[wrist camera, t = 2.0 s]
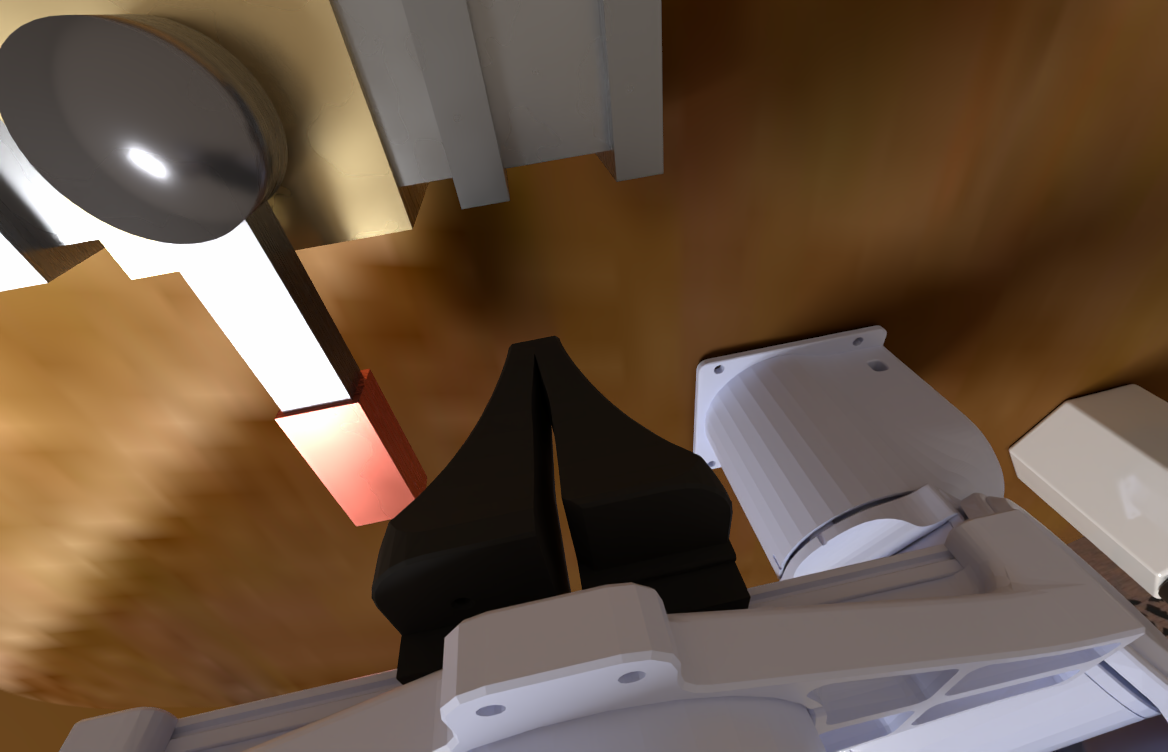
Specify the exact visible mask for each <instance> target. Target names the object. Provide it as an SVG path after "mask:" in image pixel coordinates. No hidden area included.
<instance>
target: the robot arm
mask: <svg viewBox="0 0 1168 752" xmlns="http://www.w3.org/2000/svg"><path fill="white" fill-rule="evenodd" d="M886 335H887V332H886V330H885V329H884V328H883V327H881V326H871V327H866V328H861V329H856V330H851V331H846V332H841V333H836V334H831V335H826V336H821V337H816V338H811V339H806V340H801V341H796V342H791V343H786V344H781V345H775V346H770V347H765V348H760V349H755V350H750V351H745V352H740V353H735V354H730V355H725V356H720V357H715V358H710V359H706V360H703V361H702V362H700V363H699V365H698V366H697V370H696V394H695V418H694V442H693V452H691V451H688V450H686V449H684V448H682V447H679V446H677V445H675V444H673V443H670V442H668V441H667V440H665V439H663V438H661V437H659V436H658V435H656V434H654V433H653V432H651V431H650V430H648V429H646V428H645V427H643V426H642V425H640V424H639V423H637V422H636V421H634V420H633V419H631V418H630V417H628V416H627V415H626V414H625V413H623V412H622V411H621V410H619V409H618V408H617V407H616V406H615V405H613V404H612V403H611V402H610V401H609V400H608V399H606V398H605V397H604V396H603V395H602V394H601V393H600V392H599V391H598V390H597V389H596V388H595V387H594V386H593V385H592V384H591V383H590V382H589V381H588V379H587V378H586V377H585V376H584V375H583V374H582V372H581V371H580V370H579V369H578V368H577V366H576V365H575V364H574V362H573V361H572V360H571V358H570V357H569V355H568V354H567V352H566V351H565V349H564V348H563V346H562V344H561V342H560V339H559V338H558V337H556V336H551V337H546V338H541V339H536V340H531V341H526V342H521V343H515V344H512V345H511V346H510V348H509V350H508V355H507V358H506V361H505V364H504V367H503V370H502V373H501V375H500V378H499V380H498V383H497V385H496V387H495V390H494V392H493V394H492V396H491V398H490V400H489V402H488V404H487V406H486V408H485V410H484V412H483V414H482V416H481V417H480V419H479V421H478V423H477V424H476V426H475V428H474V429H473V431H472V432H471V434H470V435H469V437H468V438H467V440H466V441H465V443H464V444H463V445H462V447H461V448H460V449H459V451H458V452H457V454H456V455H455V456H454V458H453V459H452V460H451V461H450V463H449V464H448V465H447V466H446V467H445V469H444V470H443V471H442V472H441V473H440V474H439V475H438V476H437V477H436V478H435V480H434V481H433V482H432V483H431V484H430V485H429V486H428V487H427V488H426V489H425V490H424V491H423V492H422V493H421V494H420V495H419V496H418V497H417V498H416V499H414V500H413V501H412V502H411V503H410V504H409V505H408V506H407V507H406V508H404V509H403V510H402V511H401V512H400V513H399V514H398V515H397V516H396V517H394V518H393V519H392V520H391V521H390V522H389V523H388V527H387V530H386V533H385V536H384V538H383V541H382V544H381V548H380V551H379V555H378V560H377V565H376V570H375V575H374V580H373V585H372V599H373V601H374V603H375V605H376V606H377V608H378V609H379V610H380V611H381V612H382V613H383V615H384V616H385V617H386V618H387V619H388V620H389V621H390V622H391V623H392V625H393V626H394V627H395V628H396V629H397V630H398V631H399V632H400V634H401V635H402V637H401V644H400V652H399V659H398V667H397V669H394V670H390V671H385V672H381V673H376V674H372V675H368V676H363V677H359V678H355V679H350V680H346V681H342V682H337V683H333V684H328V685H324V686H320V687H315V688H311V689H307V690H302V691H298V692H293V693H289V694H285V695H280V696H276V697H272V698H267V699H263V700H259V701H254V702H250V703H245V704H241V705H237V706H232V707H228V708H224V709H219V710H215V711H210V712H206V713H202V714H197V715H193V716H189V717H184V718H180V719H177V718H176V717H175V716H174V715H173V714H171V713H169V712H167V711H165V710H163V709H159V708H155V707H139V708H132V709H128V710H123V711H119V712H114V713H110V714H105V715H101V716H97V717H92V718H88V719H83V720H81V721H79V722H78V723H76V724H75V725H74V726H73V728H72V730H71V732H70V733H69V735H68V737H67V739H66V740H65V742H64V744H63V746H62V747H61V749H60V751H59V752H1168V639H1167V638H1166V637H1165V636H1164V635H1163V634H1162V633H1161V632H1160V631H1159V630H1158V629H1157V628H1156V627H1155V626H1154V625H1153V624H1152V623H1151V622H1150V621H1149V620H1148V619H1147V618H1146V617H1145V616H1144V615H1143V614H1142V613H1141V612H1140V611H1139V610H1138V609H1137V608H1136V607H1135V606H1133V605H1132V604H1131V603H1130V602H1129V601H1128V600H1127V599H1126V598H1125V597H1124V596H1123V595H1122V594H1121V593H1120V592H1118V591H1117V590H1116V589H1115V588H1114V587H1113V586H1112V585H1111V584H1110V583H1109V582H1108V581H1106V580H1105V579H1104V578H1103V577H1102V576H1101V575H1100V574H1099V573H1098V572H1097V571H1095V570H1094V569H1093V568H1092V567H1091V566H1090V565H1089V564H1088V563H1087V562H1085V561H1084V560H1083V559H1082V558H1081V557H1080V556H1079V555H1078V554H1076V553H1075V552H1074V551H1073V550H1072V549H1071V548H1070V547H1068V546H1067V545H1066V544H1065V543H1064V542H1063V541H1061V540H1060V539H1059V538H1058V537H1057V536H1056V535H1054V534H1053V533H1052V532H1051V531H1050V530H1049V529H1047V528H1046V527H1045V526H1044V525H1043V524H1041V523H1040V522H1039V521H1038V520H1036V519H1035V518H1034V517H1033V516H1031V515H1030V514H1029V513H1028V512H1026V511H1025V510H1024V509H1022V508H1021V507H1020V506H1018V505H1017V504H1016V503H1014V502H1013V501H1011V500H1009V499H1007V498H1003V497H1004V479H1003V473H1002V470H1001V467H1000V464H999V462H998V459H997V457H996V455H995V453H994V451H993V449H992V447H991V446H990V444H989V442H988V441H987V439H986V438H985V436H984V435H983V434H982V432H981V431H980V430H979V429H978V428H977V427H976V425H975V424H974V423H973V422H972V421H970V420H969V419H968V418H967V417H966V416H965V415H964V414H963V413H961V412H960V411H959V410H958V409H957V408H956V407H954V406H953V405H952V404H951V403H950V402H949V401H947V400H946V399H945V398H944V397H943V396H941V395H940V394H939V393H938V392H937V391H936V390H934V389H933V388H932V387H931V386H930V385H929V384H927V383H926V382H925V381H924V380H923V379H921V378H920V377H919V376H918V375H917V374H916V373H914V372H913V371H912V370H911V369H910V368H909V367H907V366H906V365H905V364H904V363H903V362H901V361H900V360H899V359H898V358H897V357H896V356H894V355H893V354H892V353H891V352H890V351H889V350H887V349H886V348H885V347H884V346H883V344H884V341H885V338H886ZM856 338H857V339H856ZM855 339H856V340H855ZM854 340H855V341H854ZM719 365H721V366H720V367H719V368H717V369H715V368H716V367H717V366H719ZM551 425H552V428H553V432H554V436H555V442H556V450H557V458H558V466H559V475H560V485H561V495H562V501H563V505H564V509H565V513H566V517H567V521H568V525H569V529H570V533H571V537H572V541H573V545H574V549H575V553H576V557H577V561H578V567H579V573H580V579H581V585H582V590H580V591H576V592H572V593H571V589H570V584H569V578H568V572H567V566H566V560H565V553H564V547H563V541H562V535H561V529H560V523H559V516H558V510H557V504H556V494H555V481H554V463H553V445H552V428H551ZM719 467H722V469H723V471H724V473H725V475H726V477H727V479H728V481H729V483H730V485H731V486H732V488H733V490H734V492H735V494H736V496H737V498H738V500H739V502H740V504H741V506H742V508H743V510H744V512H745V514H746V516H747V518H748V520H749V522H750V524H751V526H752V528H753V530H754V532H755V533H756V535H757V537H758V539H759V541H760V543H761V545H762V547H763V549H764V551H765V553H766V555H767V557H768V559H769V561H770V563H771V565H772V567H773V569H774V571H775V573H776V575H777V577H778V579H779V580H780V581H778V582H774V583H770V584H765V585H761V586H757V587H752V588H748V589H747V588H746V585H745V583H744V581H743V579H742V577H741V574H740V572H739V570H738V568H737V565H736V563H735V561H736V554H735V551H734V549H733V547H732V545H731V543H730V540H729V534H730V527H731V520H732V513H733V511H732V502H731V500H730V498H729V496H728V494H727V492H726V490H725V488H724V487H723V485H722V484H721V482H720V481H719V479H718V478H717V476H716V475H715V473H714V472H713V471H712V469H714V468H719Z"/></svg>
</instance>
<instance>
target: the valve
mask: <svg viewBox="0 0 1168 752" xmlns="http://www.w3.org/2000/svg"><path fill="white" fill-rule="evenodd" d="M101 14H141V15H152V16H157V17H162V18H166V19H169V20H172V21H175V22H178V23H181V24H184V25H186V26H188V27H190V28H192V29H195V30H197V31H199V32H200V33H202V34H204V35H206V36H207V37H209V38H211V39H212V40H214V41H215V42H217V43H218V44H219V45H221V46H222V47H224V48H225V49H226V50H228V51H229V52H230V53H231V54H232V55H233V56H235V57H236V58H237V59H238V60H239V61H240V62H241V63H242V64H243V65H244V66H245V67H246V68H247V69H248V70H249V71H250V72H251V73H252V74H253V76H254V77H255V78H256V79H257V80H258V82H259V83H260V84H261V85H262V87H263V88H264V90H265V91H266V93H267V94H268V96H269V97H270V99H271V101H272V103H273V105H274V106H275V108H276V110H277V112H278V115H279V117H280V119H281V122H282V125H283V128H284V132H285V135H286V141H287V147H288V162H287V169H286V173H285V176H284V179H283V181H282V183H281V185H280V187H279V188H278V190H277V191H276V192H275V194H274V195H273V196H272V197H271V198H270V199H268V200H267V201H268V203H269V205H270V206H271V208H272V210H273V212H274V214H275V216H276V217H277V219H278V221H279V223H280V225H281V227H282V228H283V230H284V232H285V234H286V236H287V238H288V239H289V241H290V243H291V245H292V247H293V248H294V250H299V249H305V248H311V247H316V246H322V245H327V244H333V243H338V242H344V241H350V240H355V239H361V238H366V237H372V236H378V235H383V234H389V233H394V232H400V231H405V230H411V229H413V226H414V224H415V221H416V218H417V215H418V212H419V209H420V206H421V203H422V200H423V198H424V195H425V192H426V189H427V186H428V183H429V182H430V181H436V180H442V179H448V178H453V181H454V184H455V188H456V191H457V195H458V198H459V202H460V205H461V209H466V208H472V207H477V206H483V205H488V204H494V203H500V202H505V201H510V197H509V188H508V179H507V171H506V168H511V167H517V166H522V165H528V164H534V163H539V162H545V161H551V160H557V159H562V158H568V157H574V156H580V155H585V154H591V153H596V155H597V156H598V157H599V159H600V160H601V161H602V163H603V164H604V165H605V167H606V168H607V169H608V171H609V172H610V173H611V175H612V176H613V177H614V179H615V180H616V181H617V182H618V181H623V180H629V179H635V178H640V177H646V176H651V175H657V174H663V97H662V15H661V0H0V48H1V46H2V44H3V43H4V42H5V40H6V39H7V38H8V36H9V35H10V34H11V33H13V32H14V31H15V30H16V29H18V28H19V27H20V26H22V25H24V24H26V23H28V22H30V21H33V20H35V19H39V18H43V17H48V16H57V15H101ZM105 247H106V249H107V250H108V251H109V252H110V254H111V255H112V256H113V257H114V259H115V260H116V261H117V262H118V263H119V265H120V266H121V267H122V268H123V270H124V271H125V272H126V273H127V274H128V276H129V277H130V278H131V279H137V278H143V277H149V276H154V275H160V274H165V273H171V272H176V271H179V270H178V269H177V267H176V266H175V265H174V263H173V262H172V261H171V259H170V258H169V257H168V255H167V254H166V253H165V251H164V250H163V248H162V247H161V246H160V244H159V243H158V242H157V241H153V240H148V239H144V238H141V237H138V236H134V235H131V234H129V233H126V232H124V231H121V230H119V229H116V228H114V227H112V226H110V225H108V224H106V223H104V222H102V221H100V220H98V219H97V218H95V217H93V216H92V215H90V214H88V213H86V212H85V211H83V210H82V209H81V208H79V207H78V206H76V205H75V204H73V203H72V202H70V201H69V200H68V199H67V198H65V197H64V196H63V195H62V194H60V193H59V192H58V191H57V190H56V189H55V188H53V187H52V186H51V185H50V184H49V183H48V182H47V181H46V180H45V179H44V178H43V177H42V176H41V175H40V174H39V173H38V172H37V171H36V169H35V168H34V167H33V166H32V165H31V164H30V163H29V161H28V160H27V159H26V157H25V156H24V155H23V153H22V152H21V151H20V149H19V148H18V146H17V145H16V143H15V142H14V140H13V138H12V137H11V135H10V133H9V132H8V129H7V127H6V125H5V123H4V121H3V119H2V117H1V114H0V291H5V290H10V289H16V288H22V287H27V286H33V285H39V284H44V283H48V282H50V281H52V280H53V279H55V278H56V277H58V276H60V275H61V274H63V273H65V272H66V271H68V270H69V269H71V268H73V267H74V266H76V265H77V264H79V263H81V262H82V261H84V260H86V259H87V258H89V257H90V256H92V255H94V254H95V253H97V252H98V251H100V250H102V249H103V248H105Z"/></svg>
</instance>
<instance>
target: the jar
mask: <svg viewBox="0 0 1168 752" xmlns="http://www.w3.org/2000/svg"><path fill="white" fill-rule="evenodd" d="M1009 453H1010V456H1011V459H1012V462H1013V465H1014V468H1015V471H1016V474H1017V477H1018V478H1019V479H1020V480H1021V481H1023V482H1024V483H1025V484H1026V485H1027V486H1028V487H1029V488H1030V489H1032V490H1033V491H1034V492H1035V493H1036V494H1037V495H1038V496H1040V497H1041V498H1042V499H1043V500H1044V501H1045V502H1046V503H1047V504H1049V505H1050V506H1051V507H1052V508H1053V509H1054V510H1055V511H1057V512H1058V513H1059V514H1060V515H1061V516H1062V517H1063V518H1064V519H1066V520H1067V521H1068V522H1069V523H1070V524H1071V525H1072V526H1074V527H1075V528H1076V529H1077V530H1078V531H1079V532H1080V533H1081V534H1083V535H1084V536H1085V537H1086V538H1087V539H1088V540H1089V541H1091V542H1092V543H1093V544H1094V545H1095V546H1096V547H1097V548H1099V549H1100V550H1101V551H1102V552H1103V553H1104V554H1105V555H1106V556H1108V557H1109V558H1110V559H1111V560H1112V561H1113V562H1114V563H1116V564H1117V565H1118V566H1119V567H1120V568H1121V569H1122V570H1123V571H1125V572H1126V573H1127V574H1128V575H1129V576H1130V577H1131V578H1133V579H1134V580H1135V581H1136V582H1137V583H1138V584H1139V585H1140V586H1142V587H1143V588H1144V589H1145V590H1146V591H1147V592H1148V593H1150V594H1151V595H1152V596H1153V597H1155V598H1157V599H1161V598H1162V599H1163V600H1164V601H1165V602H1166V603H1167V604H1168V402H1166V401H1164V400H1162V399H1161V398H1159V397H1157V396H1155V395H1154V394H1152V393H1150V392H1149V391H1147V390H1145V389H1143V388H1142V387H1140V386H1138V385H1136V384H1129V385H1125V386H1121V387H1118V388H1114V389H1110V390H1106V391H1102V392H1098V393H1094V394H1090V395H1087V396H1083V397H1079V398H1075V399H1071V400H1067V401H1065V402H1063V403H1062V404H1061V405H1060V406H1058V407H1057V408H1056V409H1055V410H1054V411H1052V412H1051V413H1050V414H1049V415H1048V416H1046V417H1045V418H1044V419H1043V420H1042V421H1041V422H1039V423H1038V424H1037V425H1036V426H1035V427H1033V428H1032V429H1031V430H1030V431H1029V432H1027V433H1026V434H1025V435H1024V436H1023V437H1022V438H1020V439H1019V440H1018V441H1017V442H1016V443H1014V444H1013V445H1012V446H1011V447H1010V448H1009Z"/></svg>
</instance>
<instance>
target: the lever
mask: <svg viewBox="0 0 1168 752" xmlns="http://www.w3.org/2000/svg"><path fill="white" fill-rule="evenodd" d="M0 114H1V117H2V119H3V121H4V123H5V125H6V127H7V129H8V132H9V133H10V135H11V137H12V138H13V140H14V142H15V143H16V145H17V146H18V148H19V149H20V151H21V152H22V153H23V155H24V156H25V157H26V159H27V160H28V161H29V163H30V164H31V165H32V166H33V167H34V168H35V169H36V171H37V172H38V173H39V174H40V175H41V176H42V177H43V178H44V179H45V180H46V181H47V182H48V183H49V184H50V185H51V186H52V187H53V188H55V189H56V190H57V191H58V192H59V193H60V194H62V195H63V196H64V197H65V198H67V199H68V200H69V201H70V202H72V203H73V204H75V205H76V206H78V207H79V208H81V209H82V210H83V211H85V212H86V213H88V214H90V215H92V216H93V217H95V218H97V219H98V220H100V221H102V222H104V223H106V224H108V225H110V226H112V227H114V228H116V229H119V230H121V231H124V232H126V233H129V234H131V235H134V236H138V237H141V238H144V239H148V240H153V241H157V242H158V243H159V244H160V246H161V247H162V248H163V250H164V251H165V253H166V254H167V255H168V257H169V258H170V259H171V261H172V262H173V263H174V265H175V266H176V267H177V269H178V270H179V272H180V273H181V274H182V276H183V277H184V278H185V280H186V281H187V282H188V284H189V285H190V286H191V288H192V289H193V291H194V292H195V293H196V295H197V296H198V297H199V299H200V300H201V301H202V303H203V304H204V306H205V307H206V308H207V310H208V311H209V312H210V314H211V315H212V316H213V318H214V319H215V320H216V322H217V323H218V325H219V326H220V327H221V329H222V330H223V331H224V333H225V334H226V335H227V337H228V338H229V339H230V341H231V342H232V344H233V345H234V346H235V348H236V349H237V350H238V352H239V353H240V354H241V356H242V357H243V358H244V360H245V361H246V363H247V364H248V365H249V367H250V368H251V369H252V371H253V372H254V373H255V375H256V376H257V378H258V379H259V380H260V382H261V383H262V384H263V386H264V387H265V388H266V390H267V391H268V392H269V394H270V395H271V397H272V398H273V399H274V401H275V402H276V403H277V405H278V406H279V407H280V410H279V412H278V414H277V415H276V417H275V420H276V422H277V423H278V424H279V426H280V427H281V428H282V430H283V431H284V432H285V433H286V435H287V436H288V437H289V439H290V440H291V441H292V443H293V444H294V445H295V447H296V448H297V449H298V451H299V452H300V453H301V454H302V456H303V457H304V458H305V460H306V461H307V462H308V464H309V465H310V466H311V468H312V469H313V470H314V472H315V473H316V474H317V475H318V477H319V478H320V479H321V481H322V482H323V483H324V485H325V486H326V487H327V489H328V490H329V491H330V493H331V494H332V495H333V496H334V498H335V499H336V500H337V502H338V503H339V504H340V506H341V507H342V508H343V510H344V511H345V512H346V514H347V515H348V516H349V517H350V519H351V520H352V521H353V523H354V524H355V525H356V526H360V525H365V524H370V523H375V522H379V521H384V520H389V519H393V518H394V517H396V516H397V515H398V514H399V513H400V512H401V511H402V510H403V509H404V508H406V507H407V506H408V505H409V504H410V503H411V502H412V501H413V500H414V499H416V498H417V497H418V496H419V495H420V494H421V493H422V492H423V491H424V490H425V489H426V483H427V476H426V474H425V472H424V470H423V468H422V467H421V465H420V463H419V461H418V459H417V457H416V455H415V453H414V451H413V450H412V448H411V446H410V444H409V442H408V440H407V438H406V436H405V434H404V433H403V431H402V429H401V427H400V425H399V423H398V421H397V419H396V417H395V416H394V414H393V412H392V410H391V408H390V406H389V404H388V402H387V400H386V398H385V397H384V395H383V393H382V391H381V389H380V387H379V385H378V383H377V381H376V380H375V378H374V376H373V374H372V372H371V370H370V369H366V370H361V371H360V369H359V367H358V365H357V364H356V362H355V360H354V358H353V356H352V354H351V353H350V351H349V349H348V347H347V345H346V344H345V342H344V340H343V338H342V336H341V334H340V333H339V331H338V329H337V327H336V325H335V323H334V322H333V320H332V318H331V316H330V314H329V312H328V311H327V309H326V307H325V305H324V303H323V301H322V300H321V298H320V296H319V294H318V292H317V291H316V289H315V287H314V285H313V283H312V281H311V280H310V278H309V276H308V274H307V272H306V270H305V269H304V267H303V265H302V263H301V261H300V259H299V258H298V256H297V254H296V252H295V250H294V248H293V247H292V245H291V243H290V241H289V239H288V238H287V236H286V234H285V232H284V230H283V228H282V227H281V225H280V223H279V221H278V219H277V217H276V216H275V214H274V212H273V210H272V208H271V206H270V205H269V203H268V201H267V200H268V199H270V198H271V197H272V196H273V195H274V194H275V192H276V191H277V190H278V188H279V187H280V185H281V183H282V181H283V179H284V176H285V173H286V169H287V162H288V147H287V141H286V135H285V132H284V128H283V125H282V122H281V119H280V117H279V115H278V112H277V110H276V108H275V106H274V105H273V103H272V101H271V99H270V97H269V96H268V94H267V93H266V91H265V90H264V88H263V87H262V85H261V84H260V83H259V82H258V80H257V79H256V78H255V77H254V76H253V74H252V73H251V72H250V71H249V70H248V69H247V68H246V67H245V66H244V65H243V64H242V63H241V62H240V61H239V60H238V59H237V58H236V57H235V56H233V55H232V54H231V53H230V52H229V51H228V50H226V49H225V48H224V47H222V46H221V45H219V44H218V43H217V42H215V41H214V40H212V39H211V38H209V37H207V36H206V35H204V34H202V33H200V32H199V31H197V30H195V29H192V28H190V27H188V26H186V25H184V24H181V23H178V22H175V21H172V20H169V19H166V18H162V17H157V16H152V15H141V14H101V15H57V16H48V17H43V18H39V19H35V20H33V21H30V22H28V23H26V24H24V25H22V26H20V27H19V28H18V29H16V30H15V31H14V32H13V33H11V34H10V35H9V36H8V38H7V39H6V40H5V42H4V43H3V44H2V46H1V48H0Z"/></svg>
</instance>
